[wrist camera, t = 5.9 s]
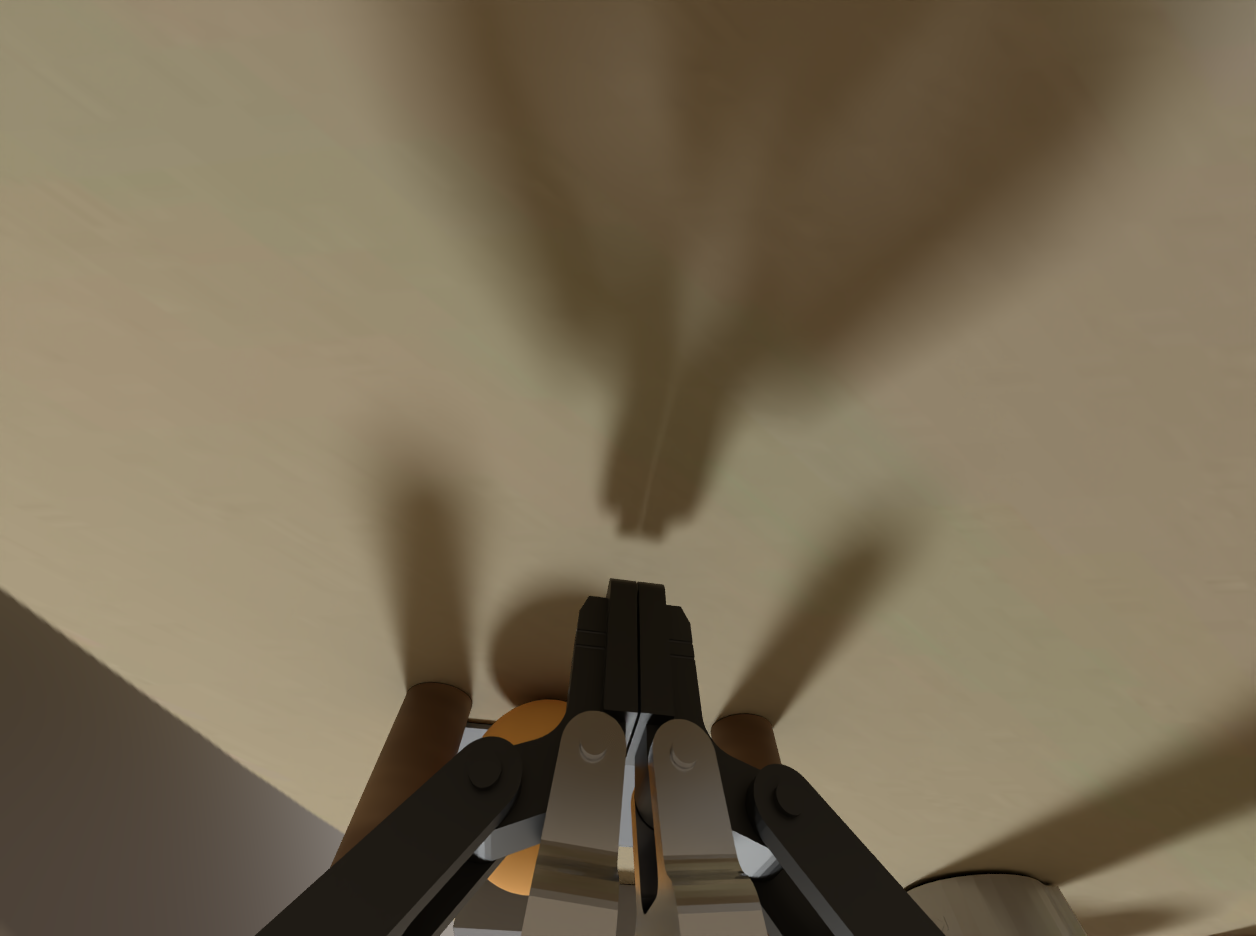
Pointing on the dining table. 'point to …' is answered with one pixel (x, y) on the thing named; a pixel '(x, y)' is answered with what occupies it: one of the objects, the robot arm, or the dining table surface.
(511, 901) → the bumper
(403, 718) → the left post
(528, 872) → the ball
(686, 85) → the dining table surface
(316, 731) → the dining table surface
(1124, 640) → the dining table surface
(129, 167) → the dining table surface
